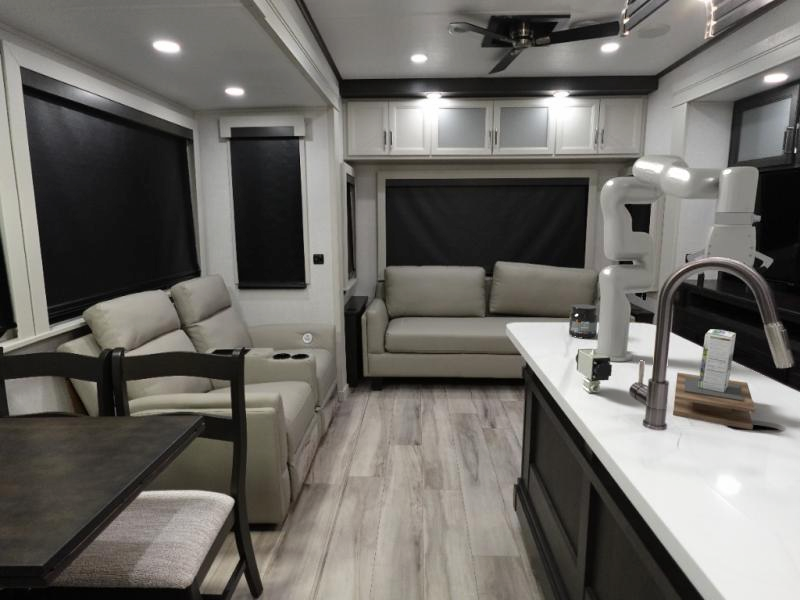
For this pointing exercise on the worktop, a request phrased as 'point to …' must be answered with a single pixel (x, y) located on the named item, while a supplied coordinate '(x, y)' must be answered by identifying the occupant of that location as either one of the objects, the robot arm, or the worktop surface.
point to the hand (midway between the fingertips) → (724, 291)
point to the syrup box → (716, 360)
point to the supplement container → (583, 321)
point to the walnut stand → (713, 402)
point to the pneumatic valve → (593, 368)
